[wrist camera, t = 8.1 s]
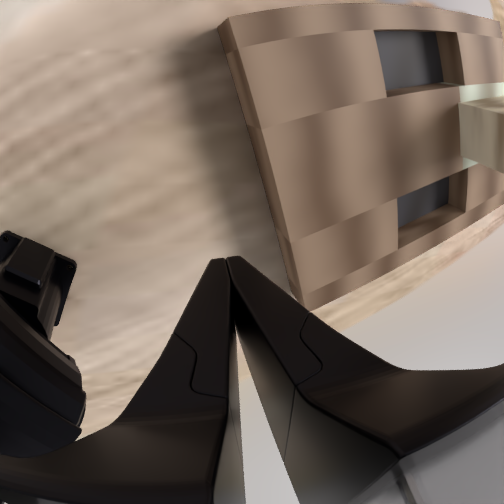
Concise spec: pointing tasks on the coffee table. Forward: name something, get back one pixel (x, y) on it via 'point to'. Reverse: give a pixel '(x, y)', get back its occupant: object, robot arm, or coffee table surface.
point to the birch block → (483, 131)
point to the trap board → (363, 132)
